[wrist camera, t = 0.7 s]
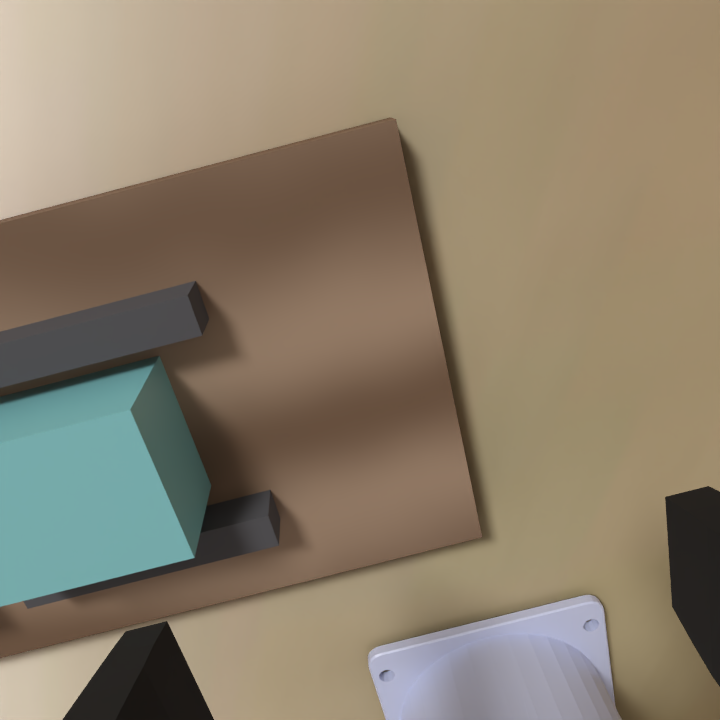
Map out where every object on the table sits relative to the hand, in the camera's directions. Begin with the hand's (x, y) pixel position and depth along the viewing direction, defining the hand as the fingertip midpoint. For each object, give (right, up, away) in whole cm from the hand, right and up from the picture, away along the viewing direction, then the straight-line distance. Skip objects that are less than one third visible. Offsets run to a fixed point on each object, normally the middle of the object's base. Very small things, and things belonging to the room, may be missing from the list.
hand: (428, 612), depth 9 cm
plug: (-8, +1, +8) cm, 11 cm away
